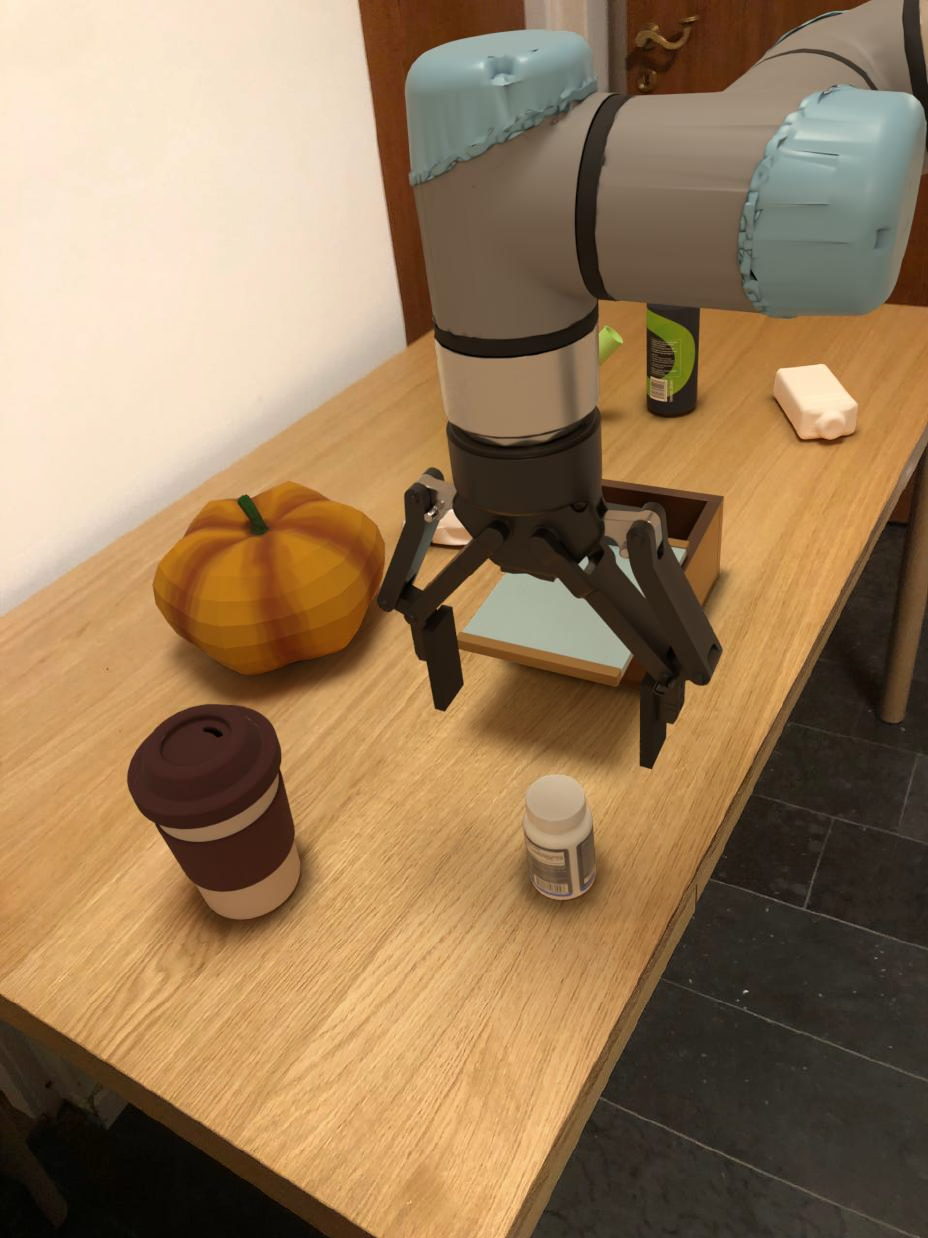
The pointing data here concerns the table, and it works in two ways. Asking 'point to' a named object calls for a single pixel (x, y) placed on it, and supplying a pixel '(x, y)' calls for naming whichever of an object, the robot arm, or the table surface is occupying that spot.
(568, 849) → the pill bottle
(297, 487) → the decorative pumpkin
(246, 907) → the coffee cup
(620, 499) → the case
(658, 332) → the beverage can
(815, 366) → the white bottle
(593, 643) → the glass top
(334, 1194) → the table surface
